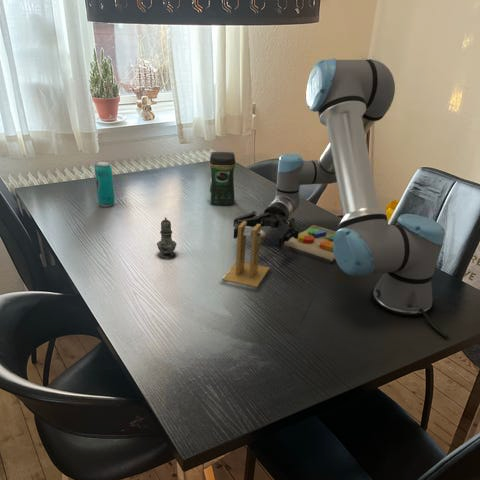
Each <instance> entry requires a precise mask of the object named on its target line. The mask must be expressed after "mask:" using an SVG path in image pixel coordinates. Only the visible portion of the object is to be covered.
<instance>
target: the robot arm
mask: <svg viewBox="0 0 480 480" xmlns="http://www.w3.org/2000/svg"><path fill="white" fill-rule="evenodd" d="M395 93H396V83H395V79H394V75H393V73H392V72H391V70H390V69H389V67H388V66H387V65H386V64H384V63H383V62H381V61H379V60H376V59H337V58H331V59H321V60H319V61H318V62H316V63H315V64H314V66H313V68H312V69H311V72H310V73H309V77H308V81H307V85H306V93H305V95H306V96H305V97H306V105H307V108H308V109H309V110H310V111H311V112H313V113H316V112H317V114H318V118H319V119H318V120H319V122H320V124H321V125H323V126H325V127H326V128H327V135H328V139H329V143H328V145H327V146H326V148H325V150H324V151H323V153H322V155H320V157H319V158H318V159H316V160H303V156H301V155H300V154H297V153H284V154H281V155H280V157H279V159H278V165H277V175H276V176H277V177H276V188H275V197H274V199H273V200H272V201H271V202H270V204H269V205H268V206H267V207H266V208H265V210H264V211H263V213H260V214H258V213H257V211H255V210H253V211H252V212H250V213H247V214H243V215H241V216H238V217H235V218H233V228H234V229H233V239H235V240H236V239H237V238H238V226H239V225H240V224H241V223H242V222H243V221H246V222H247V227H252V228H254V227H255V226H256V225H257V224H261V228H262V227H270V228H273V229H276V230H277V231H279V232H281V233H282V234H281V235H280V236H279V237H278V238H279V239H278V248H282V247H283V245H284V243H285V241H289V240H290V239H291V238H292V237H294V238H295V239H298V234H300V230H299V228H298V226H297V224H296V222H295V221H296V219H295V218H294V217H291V216H292V214H294V212H296V210H297V209H298V207H299V205H300V203H301V195H300V193H299V192H300V187H301V186H305V185H306V186H307V185H324V184H325V185H327V184H328V185H332V184H337V188H338V189H337V190H338V196H339V200H340V206H341V212H342V219H341V221H340V222H339V223H338V229H337V230H336V233H335V235H334V238H333V242H334V244H333V253H334V257H335V259H334V260H335V262H336V264H337V266H338V267H339V269H340V270H341V271H342V272H343V273H345V274H346V275H347V276H351V277H358V276H359V277H360V276H361V277H367V276H370V275H378V274H383V275H382V276H381V277H380V279H379V280H378V282H377V284H376V285H375V287H374V289H373V291H372V299H373V302H374V303H375V304H376V305H377V306H378V307H379V308H380V309H382V310H384V311H386V312H389V313H391V314H393V315H398V316H403V317H420V316H423V317H424V318H425V319H426V321H427V322H428V323H429V326H431V327H432V328H433V330H434V331H436V332H437V333H438V334H440V335H441V336H442V337H443V338H445V339H447V338H448V334H446V333H445V332H443V330H441V329H439V328H438V327H437V326H436V325H435V323H433V321H432V320H431V318H430V317H429V316H428V313H429V312H430V311H431V308H432V306H433V299H434V298H433V288H432V287H433V286H432V279H433V277H434V274H435V270H436V266H437V263H438V261H439V257H440V254H441V251H442V247H443V246H444V239H445V236H446V230H445V228H444V226H443V225H442V224H441V223H439V222H437V221H435V220H434V219H432V218H429V217H426V216H422V215H418V214H413V213H404V214H400V216H398V217H397V219H396V223H394V224H393V223H392V224H389V220H388V216H387V213H385V212H384V211H382V210H380V208H379V202H378V197H377V192H376V191H377V190H376V186H375V182H374V177H373V171H372V164H371V160H370V159H371V158H370V155H369V149H368V143H367V138H366V135H367V134H368V132H369V131H370V130H371V129H372V127H373V126H374V124H375V123H376V122H378V121H381V120H382V119H383V118H384V117H385V115H386V114H387V113H388V111H389V109H390V108H391V106H392V103H393V102H394V98H395ZM290 217H291V218H290Z"/></svg>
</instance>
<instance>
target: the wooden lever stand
mask: <svg viewBox="0 0 480 480" xmlns="http://www.w3.org/2000/svg"><path fill="white" fill-rule="evenodd" d="M245 226H247V222H246V221H243V222H242V223H241V224H240V225H239V226H238V237H237V238H236V239H237V240H236V261H235V263H234V264H233V265H232V267H231V268H230V269H229V270H228V272H226V274H225V275H224V276H223V277H222V279H221V280H222V281H224V282H228V283H232V284H233V283H234V284H239V285H243V286H248V287H252V288H255V289H257V288H258V287H259V286H260V284H261V282H262V281H263V279H264V278H265V276H266V274H268V273H269V271H270V269H271V268H270V267H269V266H264V265H260V264H259V259H260V258H259V257H260V245H261V244H260V243H261V242H260V234H261V229H262V227H261V224H257V225H256V226H255V227H252V228H253V230H252V237H251V245H250V258H249V259H250V260H249V262H245V261H246V260H245V259H246V246H247V245H246V243H247V242H246V241H247V236H244V235H243V233H244V228H245Z"/></svg>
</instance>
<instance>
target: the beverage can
mask: <svg viewBox="0 0 480 480" xmlns="http://www.w3.org/2000/svg"><path fill="white" fill-rule="evenodd" d="M94 177H95V185H96V192H97V201H98V203H99V205H100V206H101V207H105V208H109V207H112V206H114V203H115V189H114V179H113V169H112V165H111V162H110V161H106V160H99V161H96V162H94Z"/></svg>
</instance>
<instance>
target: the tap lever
mask: <svg viewBox="0 0 480 480" xmlns="http://www.w3.org/2000/svg"><path fill="white" fill-rule="evenodd" d="M253 228H254V227H247V226H245V228H244V233H243V235H244V236H246V237H249V238H252V230H253ZM266 238H267V233H266V231H265V230H264V229H262V228H261V234H260V243H261V242H264V241H265V240H266Z"/></svg>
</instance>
